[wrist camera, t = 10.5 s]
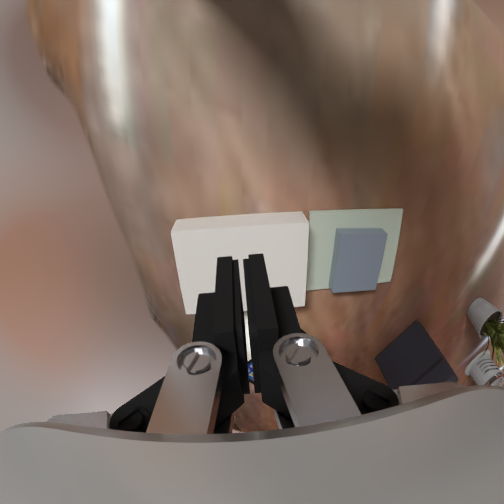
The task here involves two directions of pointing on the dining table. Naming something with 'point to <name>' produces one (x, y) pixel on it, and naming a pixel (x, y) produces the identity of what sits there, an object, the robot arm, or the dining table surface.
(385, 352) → the dark grey box
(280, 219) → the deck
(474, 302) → the house plant
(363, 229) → the tile
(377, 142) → the dining table surface
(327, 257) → the mat
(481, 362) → the french press
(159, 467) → the robot arm
